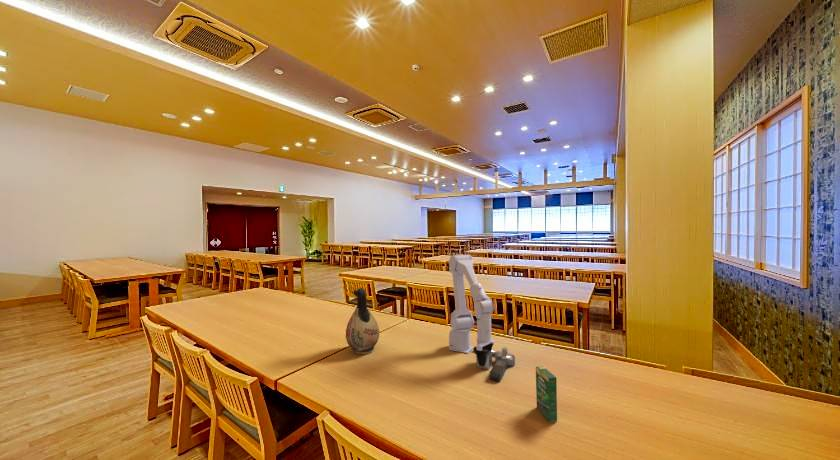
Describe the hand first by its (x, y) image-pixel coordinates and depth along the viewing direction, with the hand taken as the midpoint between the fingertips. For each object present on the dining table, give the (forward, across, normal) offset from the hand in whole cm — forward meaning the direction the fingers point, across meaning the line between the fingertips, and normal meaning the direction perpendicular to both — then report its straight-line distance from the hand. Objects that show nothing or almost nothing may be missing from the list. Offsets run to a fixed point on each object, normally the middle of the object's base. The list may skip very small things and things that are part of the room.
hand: (484, 361), depth 126 cm
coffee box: (+2, -23, -26) cm, 35 cm away
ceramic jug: (+2, -11, +54) cm, 55 cm away
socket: (+2, 0, 0) cm, 2 cm away
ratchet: (+2, 0, -7) cm, 7 cm away
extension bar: (+2, +12, +3) cm, 12 cm away
